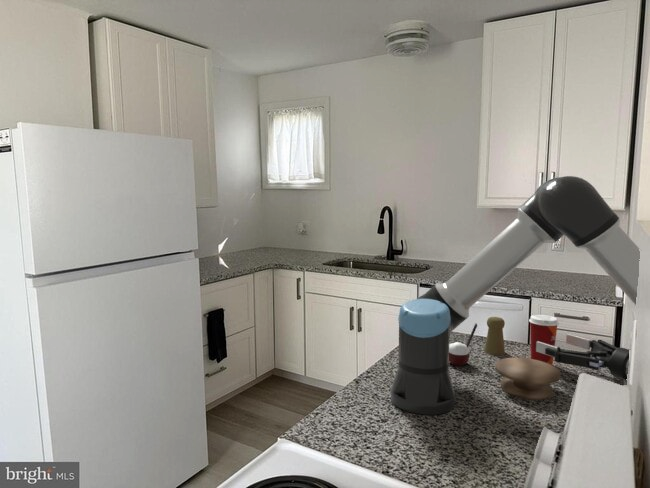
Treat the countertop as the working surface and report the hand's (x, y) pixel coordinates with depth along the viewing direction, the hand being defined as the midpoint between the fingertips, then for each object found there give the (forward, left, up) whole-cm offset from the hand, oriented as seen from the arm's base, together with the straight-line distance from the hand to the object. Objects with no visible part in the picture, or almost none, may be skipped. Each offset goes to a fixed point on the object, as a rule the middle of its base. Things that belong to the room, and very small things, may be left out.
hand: (552, 342), depth 129 cm
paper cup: (-2, +2, -8) cm, 8 cm away
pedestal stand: (-9, -17, -7) cm, 21 cm away
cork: (-14, +10, -8) cm, 19 cm away
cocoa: (-25, -3, -8) cm, 27 cm away
